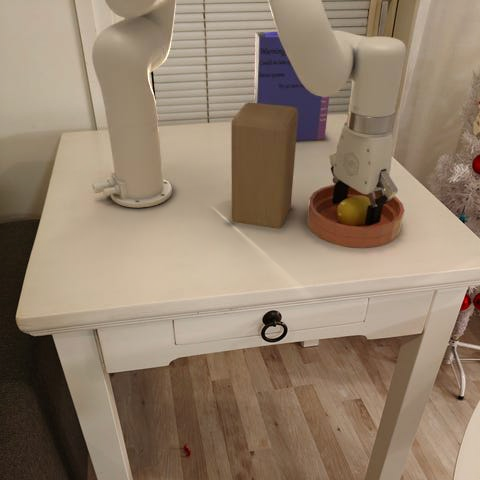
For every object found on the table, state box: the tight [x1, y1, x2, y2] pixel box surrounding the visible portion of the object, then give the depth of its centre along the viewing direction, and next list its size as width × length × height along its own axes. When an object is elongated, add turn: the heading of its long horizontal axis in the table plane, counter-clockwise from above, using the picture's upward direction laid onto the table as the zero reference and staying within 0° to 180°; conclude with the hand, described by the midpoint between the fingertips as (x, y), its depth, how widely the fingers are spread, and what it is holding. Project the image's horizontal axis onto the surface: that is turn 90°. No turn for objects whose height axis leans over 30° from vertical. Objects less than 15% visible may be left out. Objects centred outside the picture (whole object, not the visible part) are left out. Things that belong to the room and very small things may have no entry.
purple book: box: [253, 31, 330, 142], centre depth 128 cm, size 17×5×24 cm, turn 98°
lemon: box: [337, 195, 371, 226], centre depth 100 cm, size 8×5×5 cm
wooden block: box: [230, 101, 298, 229], centre depth 99 cm, size 10×10×20 cm
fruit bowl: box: [306, 183, 405, 249], centre depth 101 cm, size 17×17×4 cm
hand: (355, 212), depth 101 cm, fingers open, 9 cm apart
